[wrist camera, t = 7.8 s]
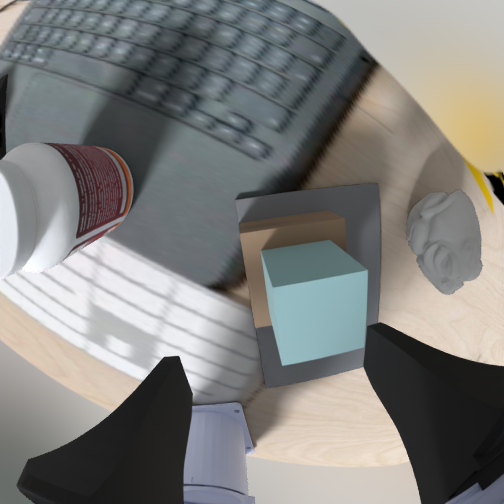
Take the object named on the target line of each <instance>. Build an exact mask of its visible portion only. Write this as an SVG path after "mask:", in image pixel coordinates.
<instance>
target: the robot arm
mask: <svg viewBox="0 0 504 504" xmlns="http://www.w3.org/2000/svg"><path fill="white" fill-rule="evenodd" d="M363 367H364V369H365V371H366V374H367V376H368V379H369V381H370V383H371V385H372V387H373V389H374V391H375V392H376V394H377V396H378V397H379V399H380V401H381V402H382V404H383V406H384V407H385V409H386V410H387V412H388V414H389V415H390V417H391V419H392V421H393V422H394V424H395V426H396V428H397V430H398V432H399V434H400V436H401V439H402V441H403V444H404V446H405V448H406V451H407V454H408V457H409V460H410V462H411V465H412V468H413V472H414V475H415V478H416V482H417V486H418V490H419V495H420V500H421V504H504V366H497V365H490V364H484V363H479V362H475V361H471V360H467V359H463V358H460V357H457V356H454V355H451V354H448V353H445V352H443V351H441V350H438V349H436V348H433V347H431V346H429V345H427V344H424V343H422V342H420V341H418V340H416V339H414V338H412V337H410V336H408V335H406V334H404V333H402V332H400V331H398V330H396V329H394V328H392V327H390V326H388V325H386V324H384V323H381V322H380V323H376V324H372V325H368V326H367V333H366V344H365V353H364V361H363ZM192 397H193V393H192V391H191V388H190V385H189V383H188V380H187V377H186V374H185V372H184V369H183V366H182V363H181V360H180V357H179V356H171V357H164V358H163V359H162V360H161V361H160V362H159V363H158V364H157V365H156V367H155V368H154V369H153V370H152V371H151V373H150V374H149V375H148V376H147V377H146V378H145V380H144V381H143V382H142V383H141V384H140V385H139V386H138V387H137V389H136V390H135V391H134V392H133V393H132V394H131V395H130V396H129V397H128V398H127V399H126V400H125V401H124V402H123V403H122V404H121V405H120V406H119V407H118V408H117V409H116V410H115V411H114V412H112V413H111V414H110V415H109V416H108V417H106V418H105V419H104V420H103V421H102V422H100V423H99V424H98V425H96V426H95V427H93V428H92V429H90V430H89V431H87V432H86V433H84V434H83V435H81V436H80V437H78V438H77V439H75V440H73V441H71V442H69V443H68V444H66V445H64V446H62V447H60V448H58V449H55V450H53V451H51V452H48V453H45V454H43V455H40V456H37V457H34V458H31V459H28V461H27V463H26V465H25V467H24V469H23V472H22V474H21V476H20V478H19V480H18V483H17V487H18V489H19V491H20V492H21V493H22V494H23V495H25V496H26V497H27V498H28V499H29V500H31V501H32V502H33V503H35V504H255V497H254V496H248V482H247V469H246V454H252V453H254V447H253V444H252V441H251V437H250V434H249V430H248V427H247V423H246V420H245V416H244V413H243V409H242V405H241V404H240V403H238V402H234V403H224V404H213V405H199V406H192Z"/></svg>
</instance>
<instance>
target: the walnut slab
mask: <svg viewBox="0 0 504 504" xmlns="http://www.w3.org/2000/svg"><path fill="white" fill-rule="evenodd" d="M239 230H240V238H241V244H242V251H243V257H244V263H245V269H246V275H247V281H248V287H249V294H250V300H251V306H252V312H253V318H254V324H255V328H258V327H265V326H271V325H272V322H271V318H270V314H269V307H268V299H267V292H266V285H265V278H264V271H263V264H262V257H261V251H262V250H268V249H275V248H281V247H287V246H294V245H300V244H306V243H312V242H319V241H325V240H331V241H332V242H333V243H335V244H336V245H337V246H338V247H340V248H341V249H342V250H343V251H345V252H346V253H347V249H346V229H345V218H343V217H341V216H339V215H337V214H335V213H333V212H330V211H320V212H312V213H305V214H298V215H291V216H284V217H277V218H270V219H263V220H257V221H250V222H244V223H239Z"/></svg>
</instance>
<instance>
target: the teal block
mask: <svg viewBox="0 0 504 504" xmlns="http://www.w3.org/2000/svg"><path fill="white" fill-rule="evenodd" d="M261 257H262V264H263V271H264V278H265V285H266V292H267V299H268V307H269V314H270V318H271V322H272V326H273V330H274V334H275V338H276V342H277V346H278V350H279V354H280V359H281V363H282V366H284V365H290V364H295V363H300V362H305V361H310V360H314V359H319V358H323V357H328V356H332V355H336V354H340V353H344V352H348V351H352V350H356V349H360V348H363V347H364V343H365V330H366V313H367V287H368V270H367V269H366V268H365V267H363V266H362V265H361V264H360V263H358V262H357V261H356V260H355V259H353V258H352V257H351V256H350V255H348V254H347V253H346V252H345V251H343V250H342V249H341V248H340V247H338V246H337V245H336V244H335V243H333V242H332V241H331V240H325V241H319V242H312V243H306V244H300V245H294V246H287V247H281V248H275V249H268V250H262V251H261Z"/></svg>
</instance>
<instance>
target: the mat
mask: <svg viewBox="0 0 504 504" xmlns="http://www.w3.org/2000/svg"><path fill="white" fill-rule="evenodd" d="M235 202H236V208H237V215H238V221H239V223H244V222H250V221H257V220H263V219H270V218H277V217H284V216H291V215H298V214H305V213H312V212H320V211H330V212H333V213H335V214H337V215H339V216H341V217H343V218H345V229H346V249H347V254H348V255H350V256H351V257H352V258H353V259H355V260H356V261H357V262H358V263H360V264H361V265H362V266H363V267H365V268H366V269H367V270H368V287H367V313H366V330H365V343H364V347H363V348H360V349H356V350H352V351H348V352H344V353H340V354H336V355H332V356H328V357H323V358H319V359H314V360H310V361H305V362H300V363H295V364H290V365H284V366H282V363H281V359H280V354H279V350H278V346H277V342H276V338H275V334H274V330H273V326H272V325H271V326H265V327H258V328H256V332H257V338H258V344H259V350H260V356H261V362H262V368H263V374H264V379H265V385H266V388H272V387H278V386H283V385H289V384H294V383H299V382H304V381H309V380H314V379H318V378H322V377H327V376H331V375H335V374H339V373H343V372H347V371H350V370H354V369H358V368H361V367H363V361H364V353H365V344H366V333H367V326H368V325H372V324H376V323H377V321H378V309H379V292H380V259H381V240H380V207H379V191H378V183H368V184H357V185H346V186H336V187H327V188H318V189H309V190H301V191H293V192H285V193H278V194H270V195H263V196H256V197H250V198H243V199H237V200H235Z"/></svg>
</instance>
